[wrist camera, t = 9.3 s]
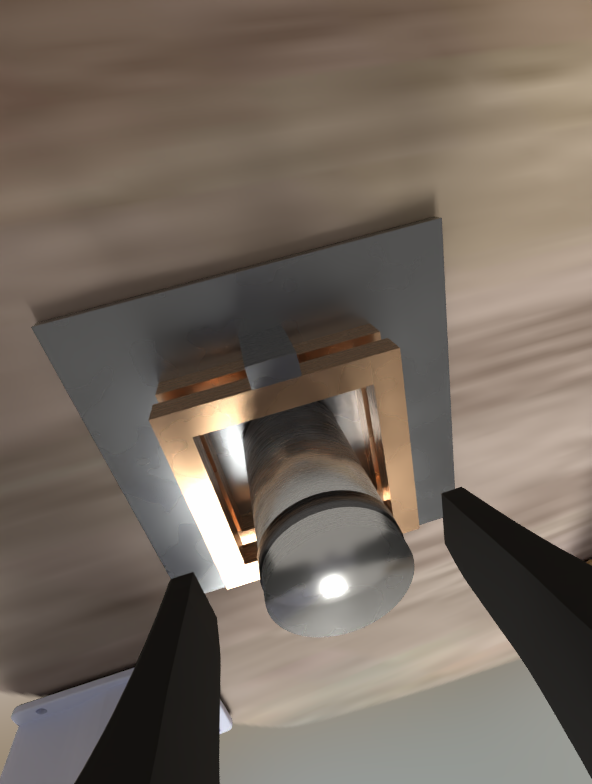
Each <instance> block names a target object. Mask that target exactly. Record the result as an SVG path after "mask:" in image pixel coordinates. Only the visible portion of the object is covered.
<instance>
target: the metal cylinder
mask: <svg viewBox="0 0 592 784" xmlns="http://www.w3.org/2000/svg"><path fill="white" fill-rule="evenodd" d="M243 449H244V457H245V464H246V471H247V478H248V485H249V492H250V499H251V506H252V513H253V520H254V527H255V534H256V541H257V548H258V552H257V560H258V568H259V575H260V582H261V586H262V589H263V591H264V597H265V604H266V608H267V611H268V613H269V615H270V616H271V618H272V619H273V620H274V621H275V623H277V624H278V625H279V626H280V627H282V628H283V629H285V630H287V631H289V632H291V633H294V634H297V635H301V636H307V637H331V636H338V635H342V634H346V633H350V632H353V631H356V630H358V629H361V628H363V627H365V626H367V625H369V624H371V623H373V622H375V621H376V620H378V619H380V618H381V617H383V616H384V615H385V614H387V613H388V612H389V611H390V610H391V609H393V608H394V607H395V606H396V605H397V604H398V602H399V601H400V600H401V599H402V598H403V596H404V595H405V593H406V592H407V590H408V588H409V586H410V584H411V582H412V578H413V575H414V559H413V555H412V553H411V551H410V549H409V547H408V545H407V543H406V542H405V540H404V537H403V533H402V531H401V529H400V527H399V526H398V524H397V522H396V520H395V519H394V517H393V515H392V513H391V512H390V510H389V509H388V508H387V507H386V506H385V505H384V503H383V501H382V499H381V498H380V496H379V494H378V492H377V491H376V489H375V487H374V485H373V484H372V482H371V480H370V478H369V477H368V475H367V473H366V471H365V470H364V468H363V466H362V464H361V463H360V461H359V459H358V457H357V456H356V454H355V452H354V450H353V449H352V447H351V445H350V443H349V442H348V440H347V438H346V436H345V434H344V433H343V431H342V429H341V427H340V426H339V424H338V422H337V420H336V419H335V417H334V415H333V414H332V413H331V411H330V410H329V409H328V408H326V407H325V406H324V405H322V404H321V403H319V402H317V401H315V402H312V403H309V404H305V405H302V406H298V407H295V408H292V409H288V410H285V411H281V412H278V413H274V414H271V415H268V416H264V417H261V418H257V419H254V420H251V421H250V423H249V424H248V426H247V428H246V431H245V434H244V438H243Z"/></svg>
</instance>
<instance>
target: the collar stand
mask: <svg viewBox="0 0 592 784" xmlns="http://www.w3.org/2000/svg"><path fill="white" fill-rule="evenodd" d="M31 328H32V329H33V331H34V333H35V335H36V337H37V338H38V340H39V342H40V344H41V346H42V347H43V349H44V351H45V353H46V355H47V356H48V358H49V360H50V362H51V364H52V365H53V367H54V369H55V371H56V373H57V374H58V376H59V378H60V380H61V382H62V383H63V385H64V387H65V389H66V391H67V393H68V394H69V396H70V398H71V400H72V402H73V403H74V405H75V407H76V409H77V411H78V412H79V414H80V416H81V418H82V420H83V421H84V423H85V425H86V427H87V429H88V430H89V432H90V434H91V436H92V438H93V439H94V441H95V443H96V445H97V447H98V448H99V450H100V452H101V454H102V456H103V457H104V459H105V461H106V463H107V465H108V466H109V468H110V470H111V472H112V474H113V475H114V477H115V479H116V481H117V483H118V484H119V486H120V488H121V490H122V492H123V493H124V495H125V497H126V499H127V501H128V502H129V504H130V506H131V508H132V510H133V512H134V513H135V515H136V517H137V519H138V521H139V522H140V524H141V526H142V528H143V530H144V531H145V533H146V535H147V537H148V539H149V540H150V542H151V544H152V546H153V548H154V549H155V551H156V553H157V555H158V557H159V558H160V560H161V562H162V564H163V566H164V567H165V569H166V571H167V573H168V575H169V576H170V578H171V579H172V578H175V577H178V576H182V575H185V574H188V573H191V572H194V574H195V576H196V578H197V580H198V582H199V584H200V585H201V587H202V589H203V591H204V593H208V592H211V591H214V590H217V589H220V588H223V587H226V588H227V590H228V589H231V588H234V587H237V586H240V585H243V584H246V583H249V582H253V581H256V580H259V579H260V575H259V568H258V560H257V552H258V548H257V541H256V534H255V527H254V520H253V513H252V506H251V499H250V492H249V485H248V478H247V471H246V464H245V457H244V449H243V438H244V434H245V431H246V428H247V426H248V424H249V423H250V421H251V420H254V419H257V418H261V417H264V416H268V415H271V414H274V413H278V412H281V411H285V410H288V409H292V408H295V407H298V406H302V405H305V404H309V403H312V402H315V401H317V402H319V403H321V404H322V405H324V406H325V407H326V408H328V409H329V410H330V411H331V413H332V414H333V415H334V417H335V419H336V420H337V422H338V424H339V426H340V427H341V429H342V431H343V433H344V434H345V436H346V438H347V440H348V442H349V443H350V445H351V447H352V449H353V450H354V452H355V454H356V456H357V457H358V459H359V461H360V463H361V464H362V466H363V468H364V470H365V471H366V473H367V475H368V477H369V478H370V480H371V482H372V484H373V485H374V487H375V489H376V491H377V492H378V494H379V496H380V498H381V499H382V501H383V503H384V505H385V506H386V507H387V508H388V509H389V510H390V512H391V513H392V515H393V517H394V519H395V520H396V522H397V524H398V526H399V527H400V529H401V531H402V533H406V532H409V531H412V530H415V529H419V528H420V527H419V525H421V524H424V523H427V522H430V521H434V520H437V519H440V518H443V511H442V497H441V493H444V492H447V491H450V490H453V489H455V483H454V462H453V441H452V421H451V400H450V380H449V359H448V338H447V318H446V297H445V276H444V256H443V235H442V218H439V217H433V218H429V219H425V220H422V221H418V222H414V223H410V224H406V225H403V226H399V227H395V228H391V229H388V230H384V231H380V232H376V233H373V234H369V235H365V236H361V237H358V238H354V239H350V240H346V241H343V242H339V243H335V244H331V245H328V246H324V247H320V248H316V249H313V250H309V251H305V252H301V253H298V254H294V255H290V256H286V257H282V258H279V259H275V260H271V261H267V262H264V263H260V264H256V265H252V266H249V267H245V268H241V269H237V270H234V271H230V272H226V273H222V274H219V275H215V276H211V277H207V278H204V279H200V280H196V281H192V282H189V283H185V284H181V285H177V286H174V287H170V288H166V289H162V290H158V291H155V292H151V293H147V294H143V295H140V296H136V297H132V298H128V299H125V300H121V301H117V302H113V303H110V304H106V305H102V306H98V307H95V308H91V309H87V310H83V311H80V312H76V313H72V314H68V315H65V316H61V317H57V318H53V319H50V320H46V321H42V322H38V323H36V324H35V325H34V326H32V327H31Z"/></svg>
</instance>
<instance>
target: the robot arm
mask: <svg viewBox="0 0 592 784" xmlns="http://www.w3.org/2000/svg"><path fill="white" fill-rule="evenodd" d="M441 497H442V511H443V525H444V539H445V545H446V546H447V548H448V550H449V552H450V554H451V556H452V557H453V559H454V561H455V563H456V565H457V566H458V568H459V570H460V572H461V573H462V575H463V577H464V578H465V580H466V581H467V583H468V584H469V586H470V587H471V588H472V590H473V591H474V593H475V594H476V596H477V597H478V598H479V600H480V601H481V603H482V604H483V605H484V607H485V608H486V610H487V611H488V612H489V614H490V615H491V617H492V618H493V620H494V621H495V622H496V624H497V625H498V627H499V628H500V629H501V631H502V632H503V634H504V635H505V636H506V638H507V639H508V641H509V642H510V643H511V645H512V646H513V648H514V649H515V650H516V652H517V653H518V655H519V656H520V658H521V659H522V661H523V662H524V664H525V665H526V667H527V668H528V670H529V671H530V673H531V675H532V676H533V678H534V679H535V681H536V683H537V685H538V686H539V688H540V689H541V691H542V693H543V695H544V696H545V698H546V700H547V701H548V703H549V705H550V706H551V708H552V710H553V712H554V713H555V715H556V717H557V718H558V720H559V722H560V724H561V725H562V727H563V729H564V731H565V732H566V734H567V736H568V738H569V739H570V741H571V743H572V744H573V746H574V748H575V750H576V751H577V753H578V755H579V757H580V758H581V760H582V762H583V764H584V765H585V768H586V769H587V771H588V773H589V775H590V776H591V778H592V565H590V564H588V563H586V562H584V561H582V560H580V559H578V558H577V557H575V556H573V555H571V554H569V553H568V552H566V551H564V550H562V549H560V548H558V547H557V546H555V545H553V544H551V543H550V542H548V541H546V540H545V539H543V538H541V537H539V536H538V535H536V534H535V533H533V532H531V531H530V530H528V529H526V528H525V527H523V526H521V525H520V524H518V523H516V522H515V521H513V520H512V519H510V518H508V517H507V516H505V515H504V514H502V513H501V512H499V511H498V510H496V509H495V508H493V507H491V506H490V505H488V504H487V503H485V502H484V501H482V500H481V499H479V498H478V497H476V496H475V495H473V494H472V493H470V492H469V491H467V490H466V489H464V488H462V487H459V488H456V489H453V490H450V491H447V492H444V493H441ZM11 719H12V720H13V721H14V722H15V723H16V724H17V725H18V726H19V727H18V730H17V732H16V735H15V738H14V741H13V744H12V746H11V749H10V752H9V755H8V758H7V760H6V763H5V766H4V769H3V771H2V774H1V777H0V784H220V782H219V734H221V733H224V732H227V731H229V730H230V729H231V728H232V718H231V716H230V715H229V713H228V711H227V710H226V708H225V706H224V705H223V703H222V701H221V700H220V646H219V635H218V625H217V617H216V615H215V613H214V611H213V609H212V607H211V605H210V603H209V601H208V599H207V597H206V595H205V593H204V591H203V589H202V587H201V585H200V584H199V582H198V580H197V578H196V576H195V574H194V572H191V573H188V574H185V575H182V576H178V577H175V578H172V579H171V581H170V582H169V584H168V587H167V590H166V592H165V595H164V598H163V600H162V603H161V605H160V608H159V611H158V613H157V616H156V618H155V621H154V623H153V626H152V628H151V631H150V633H149V635H148V638H147V640H146V642H145V645H144V647H143V649H142V652H141V654H140V656H139V659H138V661H137V663H136V666H135V667H134V668H131V669H128V670H125V671H122V672H119V673H116V674H113V675H110V676H107V677H104V678H101V679H98V680H95V681H92V682H89V683H86V684H82V685H79V686H76V687H73V688H70V689H67V690H64V691H61V692H58V693H55V694H52V695H49V696H46V697H43V698H40V699H37V700H34V701H31V702H27V703H24V704H21V705H19V706H17V707H16V708H15V709H14V711H13V713H12V716H11Z"/></svg>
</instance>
